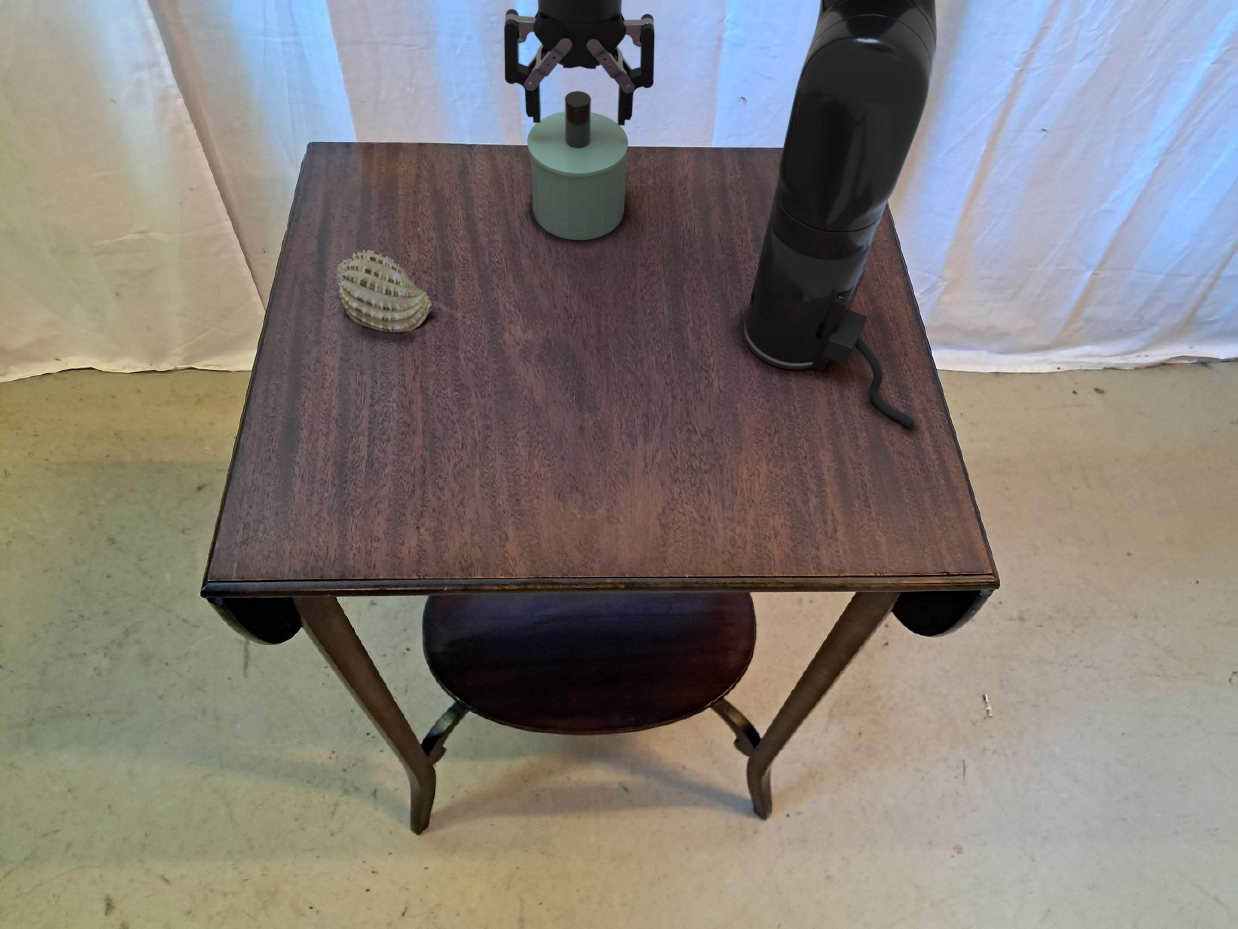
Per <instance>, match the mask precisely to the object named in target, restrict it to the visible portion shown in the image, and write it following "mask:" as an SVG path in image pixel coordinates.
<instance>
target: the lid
mask: <svg viewBox="0 0 1238 929" xmlns="http://www.w3.org/2000/svg"><path fill="white" fill-rule="evenodd" d="M526 139H527V140H526V144H527V145H526V146H527V150H528V154H529V156H530V158H531V157H532V158H533V160H534V161H535V162H536V163H537V164H539V165H540V166H541V167H543V168H545V169H547V170H549V171H551V172H554V173H556V174H560V175H564V176H571V177H587V176H594V175H598V174H602V173H605V172H607V171H609V170H611V169H613V168H615V167H616V166H617V165H619V164H620V163H621V162H622V160H623V159H624V158H625V156H626V154H627V155H628V150H629V139H628V135H627V133H626V131H625V130H624V128H623V126H621V125H618V122H616V121H615V120H614V119H611V118H610V117H608V116H606V115H603V114H599V113H597V112H593V111H592V97H591V96H590V94H589V93H587V92H585V91H581V90H575V91H570V92H568V93H567V94H566V95H565V97H564V111H560V112H556V113H552V114H550V115H547V116H545V117H543V118H542V119H540V123H534V125H533V126H532V127H531V129H530V130H529V132H528V135H527V138H526Z"/></svg>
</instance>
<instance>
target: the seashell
mask: <svg viewBox="0 0 1238 929" xmlns="http://www.w3.org/2000/svg"><path fill="white" fill-rule="evenodd" d="M335 267H336V274H335V275H336V282H337V286H338V289H339V291H338V293H339V299H340V302H341V304H342V306H343V309H344V312H345V313H346V314H347V316H348V317H349V318H350V319H351V320H352V322H354V323H355V324H357V325H358V326H363V327H367V328H369V329H372V330H376V331H378V332H384V333H385V332H386V333H403V332H411V333H413V330H414V329H416V328H417V327H420V326H421V324H422V323H423V322H424V321H425V320H426V318H427V316H428V315H429V314H430V313H431V312H432V311H433V310H434V305H433V302H432V301H431V300H432V298H431V297H430V296H429V295H428V292H427V291H424V289H421V287H418V286H416V285H415V283H414V281H413V280H412V279H411V278H410V277H409V275H408V272H406V270H405V269H404V268H403V267H402V266H401V264H399V263H398V262H397V261H396V260H394V259H392V258H391V257H389V256H387V255H386V254H382V253H380V252H377V251H374V250H369V249H361V250H359V251H357V252H353V254H352V256H351V257H349V258H348V259H343V260H342V262H340V263H339V264H335Z"/></svg>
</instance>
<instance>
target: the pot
mask: <svg viewBox="0 0 1238 929" xmlns="http://www.w3.org/2000/svg"><path fill="white" fill-rule="evenodd" d="M627 164H628V153H627V154H626V156H625V158H624V159H623V160H622V162H621V163H620V164H619V165H617V166H616V167H615V168H613V169H611V170H609V171H607V172H605V173H602V174H598V175H594V176H587V177H571V176H564V175H560V174H556V173H554V172H551V171H549V170H547V169H545V168H543V167H541V166H540V165H539V164H537V163H536V162H535V161H534V160H533V158H532V157H531V156H530V171H531V172H530V174H531V194H532V195H531V196H532V210H533V211H532V212H533V215H534V218H535V220H536V222H537V223H538V224H539V226H540V227H542V229H544V230H545V231H546V232H548V233H550V235H554V236H556V237H559V238H561V239H566V240H571V241H588V240H594V239H597V238H598V239H599V238H601V237H604V236H606V235H608V234H610V233H611V232H612V231H613V230H615V229H616V228H617V227H618V226H619V225H620V223H621V221H622V219H623V216H624V214H625V202H626V201H625V200H626V199H625V198H626V184H627V182H626V181H627V166H628V165H627Z"/></svg>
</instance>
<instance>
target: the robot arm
mask: <svg viewBox="0 0 1238 929" xmlns="http://www.w3.org/2000/svg"><path fill="white" fill-rule="evenodd" d="M819 1H820V2H819V10H818V16H817V20H816V26H815V29H814V33H813V36H812V39H811V41H810V44H809V47H808V49H807V53H806V55H805V59H804V61H803V65H802V67H801V69H800V73H799V77H798V80H797V84H796V88H795V92H794V95H793V100H792V105H791V110H790V114H789V118H788V125H787V127H786V132H785V136H784V142H783V146H782V151H781V156H780V160H779V165H778V178H777V181H776V187H775V191H774V195H773V200H772V204H771V208H770V212H769V217H768V221H767V226H766V231H765V234H764V238H763V243H762V248H761V251H760V256H759V260H758V264H757V270H756V273H755V276H754V278H753V280H752V281H753V282H751V283H752V284H751V287H752V288H751V290H750V292H751V293H750V294H749V300H748V306H747V310H746V314H745V317H744V321H743V325H742V334H743V338H744V341H745V343H746V345H747V346H748V348H749V349H750V351H751V352H752V353H753V354H754V355H755V356H756V357H758V358H759V359H760V360H762V361H763V362H765V363H767V364H769V365H771V366H774V367H777V368H780V369H785V370H790V371H791V370H794V371H800V370H807V369H808V370H809V369H813V370H816V371H819V372H823V371H824V370H825V367H826V365H827V364H828V362H829V360H833V361H834V362H838V363H839V364H843V365H845V366H846V365H847V364H848V363H849V359H850V358H851V356H852V354H853V352H854V351H855V350H854V349H855V348H856V349H857V350H858V352H859V353H860V354H861V356H863V357H864V358H865V360H866V361H867V363H868V364H869V366H870V367H871V368H870V369H871V370H872V375H873V377H872V381H871V382H870V383H871V384H870V386H869V397H870V399H871V401H872V403H873V405H874V406H875V407H876V408H877V410H879V411H880V413H882V414H884V415H885V416H887V417H888V418H890V419H892V420H895V421H896V422H898V423H900V424H902V425H904V426H905V427H906V428H908V429H909V428H911V427H912V425H913V424H914V423H915V420H914V419H913V418H911V417H909V416H907V415H906V414H904V413H902V412H901V411H899V410H896V409H894V408H892V407H891V406H889V405H888V404H887V403H886V402H885V401H884V400H883V399H882V397H881V395H880V392H879V391H880V386H881V385H882V382H883V377H884V376H883V374H884V373H883V370H882V366H881V364H880V362H879V360H878V358H877V357H876V356H875V354H874V353H873V352H872V351H871V349H870V348H869V346H867V344H865V342H864V341H863V339H862V338H860V337H861V335H862V333H863V330H864V328H865V326H866V323H867V320H868V317H869V316H867V315H864V314H862V313H859V312H857V311H854V310H851V309H852V307H853V303H854V301H855V298H856V296H857V293H858V290H859V288H860V285H861V282H862V280H863V277H864V273H865V271H866V268H867V262H866V260H867V259H868V255H869V252H870V249H871V247H872V245H873V242H874V238H875V236H876V233H877V231H878V228H879V225H880V222H881V219H882V216H883V213H884V211H885V208H886V205H887V203H888V201H889V199H890V198H891V197H892V195H893V193H894V191H895V189H896V187H897V184H898V181H899V179H900V176H901V173H902V171H903V168H904V165H905V163H906V160H907V158H908V156H909V153H910V150H911V147H912V145H913V142H914V139H915V137H916V135H917V131H918V129H919V127H920V124H921V121H922V117H923V115H924V111H925V108H926V105H927V101H928V97H929V93H930V87H931V82H932V76H933V71H934V65H935V62H936V56H937V49H938V30H937V28H938V27H937V10H936V8H937V7H936V0H819ZM622 3H623V0H537V12H536V14H535V15H534V16H527V15H526V16H525V15H519V11H517V10H516V9H515V8H510V9H508V10H507V11H506V12H505V16H504V17H505V18H504V27H503V39H504V40H503V42H504V43H503V47H504V48H503V50H504V80H505V82H506V83H507V84H510V85H515V84H518V85H520V86H521V87H523V89H524V100H525V113H526V116H527V118H532V123H533V124H536V123H540V120H542V119H541V118H542V106H541V105H542V104H541V82H542V81H543V80H544V79H545V78H547V77H549V76H550V74H551V73H552V72H553V70H554V69H555V68H556V67H557V66H558V65H560V66H562V68H563V69H575V68H578V67H580V68H583V69H587V70H596V69H597V67H599V66H601V67H602V68H603V69H604V71H605V72H606V73H607V75H608V76H609V78H611V79H613V80H614V81H615V82H616V84H617V85H618V93H617V94H618V95H617V96H618V97H617V124H618V125H620V126H621V127H623V126H624V127H625V125H626V121H631V120H632V117H633V108H634V107H633V106H634V94H635V91H636V90H637V89H639V88H642V87H643V88H644V89H650V88H651V87H653V85H654V79H655V78H654V77H655V38H656V37H655V33H656V32H655V20H654V16H653V15H652V14H650V13H644V14H643V15H642V16H641V17H640V19H626V18H625V17H624V16H623V13H622V8H623V7H622V6H623V5H622ZM530 33H533V34H534V35H535V37H536V39H537V40H538V41H539V43H541V44H540V46H539V47H538V48H537V51H536V53H535V55H534V56H533V57H532V59H530V60H531V61H529V63H528V64H527V65H525V64H522V63H521V62H520V44H523V43H525V42H526V41H527V38H528V35H529V34H530ZM626 36H629V37H630V38H631V40H632V44H633V45H634V46H635V47H637V48H640V50H639V52H640V54H639V55H640V58H639V59H640V63H639V64H640V65H639V67H638V66H637V67H635V68H632V67H631V65H630V64H629V63H628V61H627V60H626V59H625V57H624V54H623V53H622V50H621V49H620V48H619V45H620V44H621V43H622V41H623V40H624V38H625V37H626Z"/></svg>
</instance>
